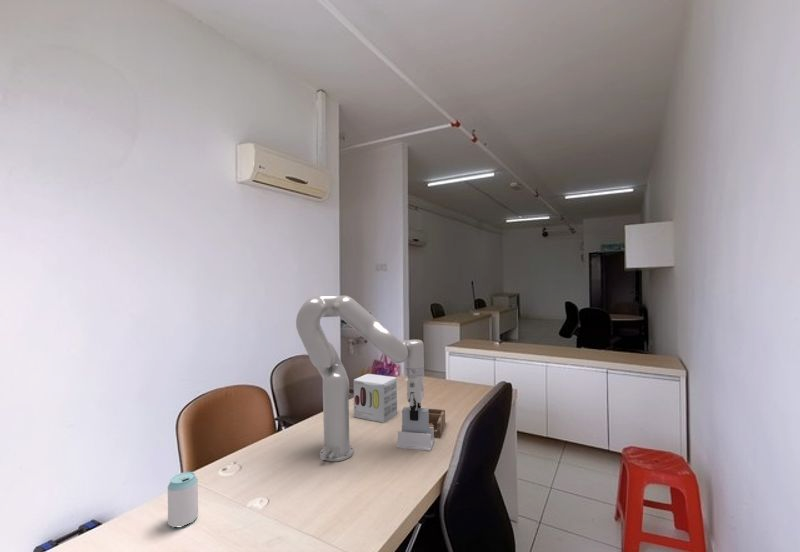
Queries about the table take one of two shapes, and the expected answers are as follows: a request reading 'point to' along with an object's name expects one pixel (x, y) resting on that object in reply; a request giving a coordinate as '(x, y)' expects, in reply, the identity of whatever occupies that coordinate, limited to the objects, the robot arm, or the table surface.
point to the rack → (437, 421)
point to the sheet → (415, 426)
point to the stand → (416, 440)
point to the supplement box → (375, 397)
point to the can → (182, 499)
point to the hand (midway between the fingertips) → (415, 417)
